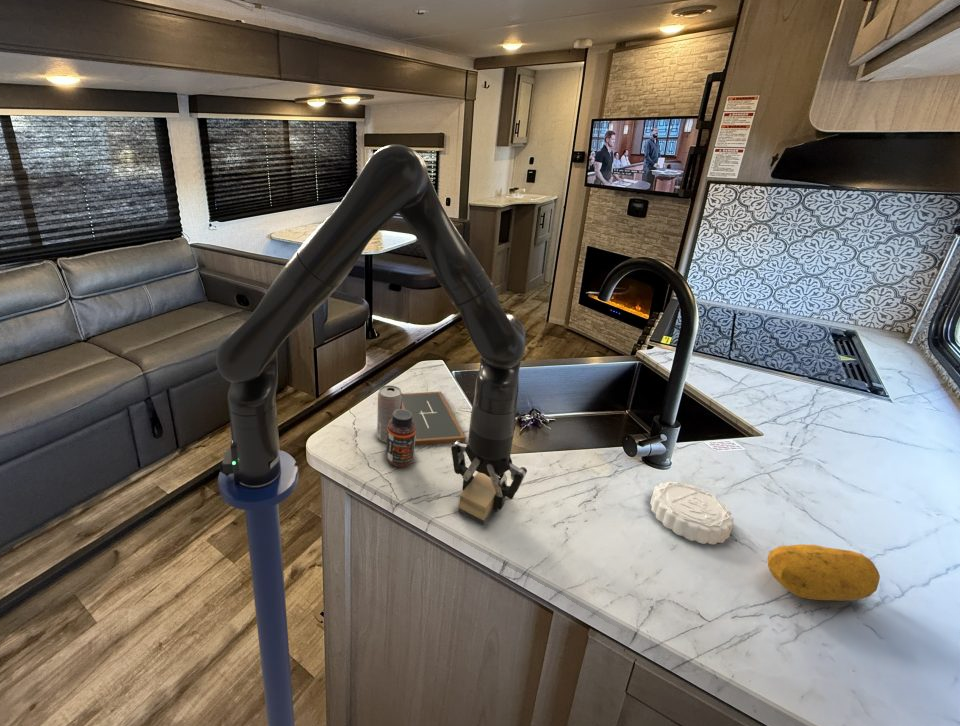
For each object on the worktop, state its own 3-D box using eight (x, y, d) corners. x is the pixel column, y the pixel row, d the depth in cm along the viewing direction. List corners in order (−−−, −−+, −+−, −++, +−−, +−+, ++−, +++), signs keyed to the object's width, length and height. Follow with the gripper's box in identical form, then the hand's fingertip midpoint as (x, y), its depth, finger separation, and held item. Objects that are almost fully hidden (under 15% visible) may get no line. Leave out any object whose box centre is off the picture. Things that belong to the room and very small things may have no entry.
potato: (745, 564, 74) (759, 531, 72) (841, 572, 73) (858, 538, 71) (779, 607, 68) (795, 572, 65) (885, 616, 67) (906, 581, 64)
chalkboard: (413, 445, 102) (414, 441, 102) (396, 397, 121) (396, 393, 121) (465, 441, 104) (466, 437, 103) (440, 395, 122) (440, 391, 122)
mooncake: (699, 554, 76) (705, 538, 75) (635, 503, 87) (639, 488, 85) (745, 533, 80) (751, 517, 79) (678, 487, 91) (683, 472, 90)
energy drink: (401, 431, 107) (403, 386, 103) (398, 445, 103) (400, 398, 98) (379, 427, 109) (380, 383, 104) (374, 441, 104) (375, 395, 100)
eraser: (483, 525, 82) (485, 508, 80) (458, 512, 85) (459, 494, 83) (505, 493, 89) (507, 476, 88) (480, 481, 92) (482, 465, 91)
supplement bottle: (390, 470, 95) (391, 424, 91) (382, 451, 100) (384, 407, 96) (417, 466, 96) (420, 420, 92) (409, 448, 102) (411, 404, 98)
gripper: (445, 420, 82) (439, 495, 88) (525, 452, 74) (512, 532, 80) (464, 402, 88) (457, 473, 94) (540, 430, 79) (527, 507, 85)
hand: (482, 500), depth 87 cm, fingers closed on eraser, 5 cm apart
